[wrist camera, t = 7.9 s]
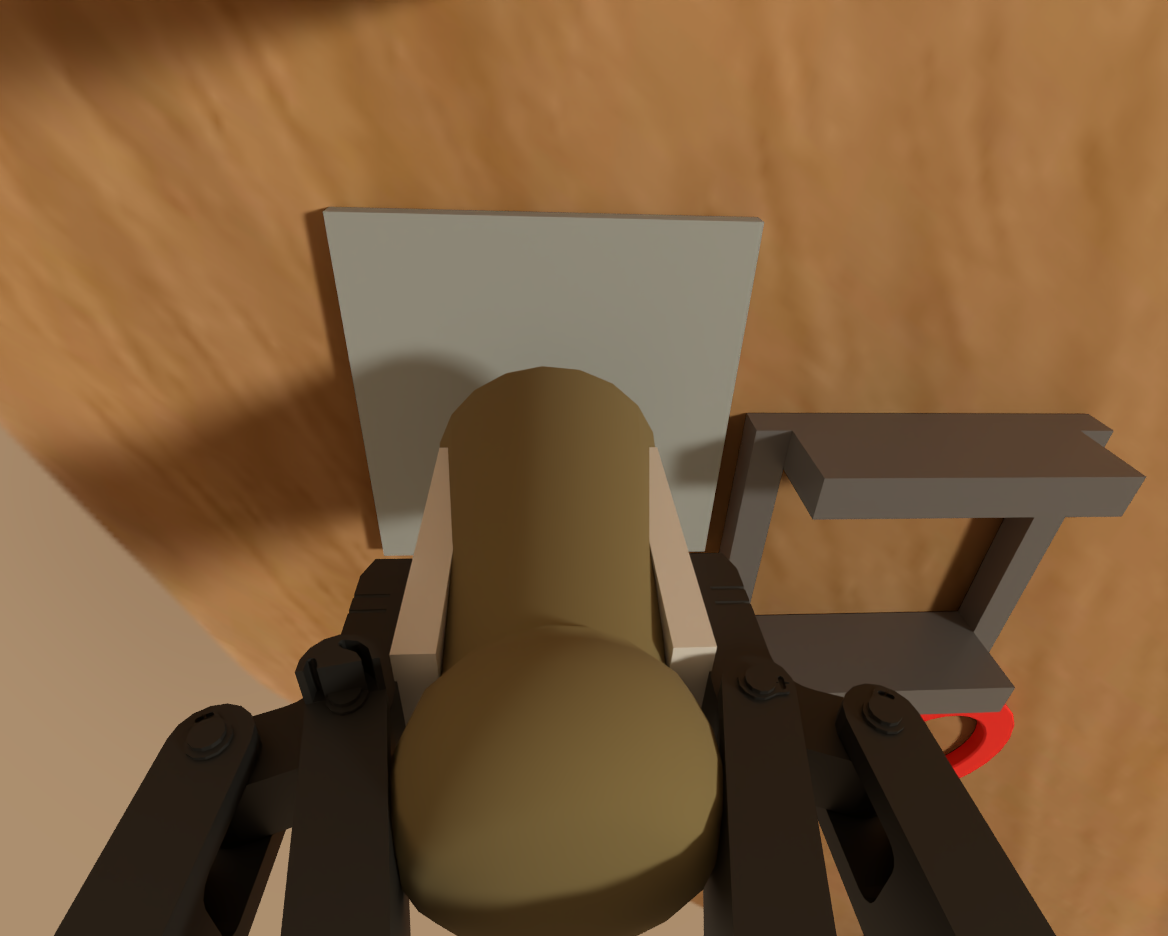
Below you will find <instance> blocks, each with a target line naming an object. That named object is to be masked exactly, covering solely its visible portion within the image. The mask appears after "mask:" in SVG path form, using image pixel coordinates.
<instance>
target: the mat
mask: <svg viewBox="0 0 1168 936" xmlns="http://www.w3.org/2000/svg"><path fill="white" fill-rule="evenodd" d="M323 216H324V221H325V227H326V232H327V238H328V244H329V249H330V255H331V261H332V266H333V272H334V277H335V283H336V289H337V294H338V300H339V305H340V311H341V317H342V322H343V328H344V333H345V339H346V345H347V350H348V356H349V361H350V367H351V373H352V378H353V384H354V389H355V395H356V401H357V406H358V412H359V418H360V423H361V429H362V434H363V440H364V446H365V451H366V457H367V462H368V468H369V474H370V479H371V485H372V490H373V496H374V502H375V507H376V513H377V518H378V524H379V530H380V535H381V541H382V546H383V552H384V556H391V555H414V551H415V547H416V543H417V539H418V534H419V530H420V526H421V522H422V518H423V514H424V510H425V506H426V501H427V497H428V493H429V489H430V485H431V481H432V477H433V473H434V468H435V464H436V460H437V456H438V452H439V448H440V441H441V439H442V436H443V434H444V432H445V429H446V427H447V424H448V422H449V419H450V417H451V415H452V414H453V412H454V411H455V410H456V409H457V408H458V407H459V406H460V405H461V404H462V403H463V402H464V401H465V400H466V399H467V397H468V396H469V395H470V394H471V393H472V392H473V391H474V390H476V389H477V388H479V387H481V386H483V385H485V384H487V383H489V382H490V381H492V380H494V379H496V378H498V377H500V376H502V375H503V374H505V373H510V372H515V371H520V370H525V369H530V368H535V367H541V366H546V367H556V368H566V369H577V370H581V371H584V372H586V373H589V374H591V375H593V376H596V377H598V378H601V379H603V380H605V381H608V382H610V383H613V384H614V385H615V386H616V387H617V388H618V389H620V390H621V391H622V392H623V393H624V394H625V395H627V396H628V397H629V398H630V399H631V400H632V401H634V402H635V403H636V404H637V405H638V406H639V408H640V410H641V412H642V413H643V415H644V417H645V419H646V421H647V422H648V424H649V426H650V428H651V429H652V431H653V436H654V443H655V447H657V448H658V452H659V455H660V458H661V462H662V465H663V468H664V472H665V475H666V478H667V482H668V485H669V488H670V492H671V495H672V498H673V502H674V505H675V508H676V512H677V515H678V518H679V522H680V525H681V528H682V532H683V535H684V538H685V542H686V545H687V548H688V552H698V551H705V547H706V541H707V536H708V530H709V524H710V519H711V513H712V508H713V502H714V497H715V491H716V486H717V480H718V475H719V469H720V464H721V458H722V453H723V447H724V442H725V436H726V430H727V425H728V419H729V414H730V408H731V403H732V397H733V392H734V386H735V381H736V375H737V370H738V364H739V359H740V353H741V348H742V342H743V337H744V331H745V325H746V320H747V314H748V309H749V303H750V298H751V292H752V287H753V281H754V276H755V270H756V265H757V259H758V254H759V248H760V243H761V237H762V231H763V226H764V221H762V220H761V219H760V218H758V217H724V216H683V215H642V214H601V213H560V212H519V211H478V210H437V209H396V208H355V207H328V208H327V209H325V210H324V211H323Z"/></svg>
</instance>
